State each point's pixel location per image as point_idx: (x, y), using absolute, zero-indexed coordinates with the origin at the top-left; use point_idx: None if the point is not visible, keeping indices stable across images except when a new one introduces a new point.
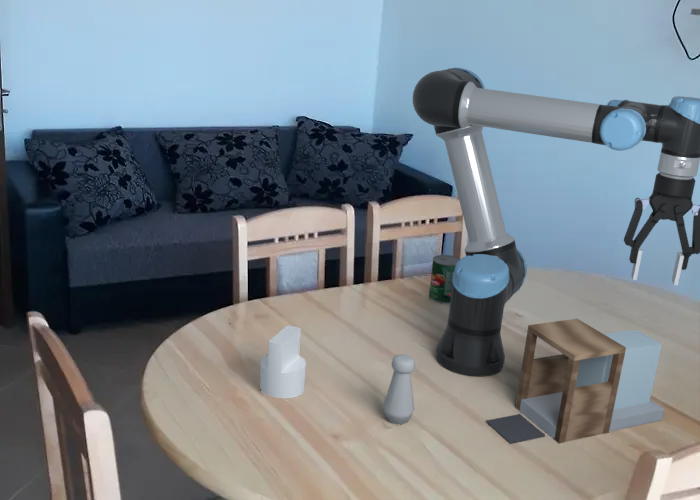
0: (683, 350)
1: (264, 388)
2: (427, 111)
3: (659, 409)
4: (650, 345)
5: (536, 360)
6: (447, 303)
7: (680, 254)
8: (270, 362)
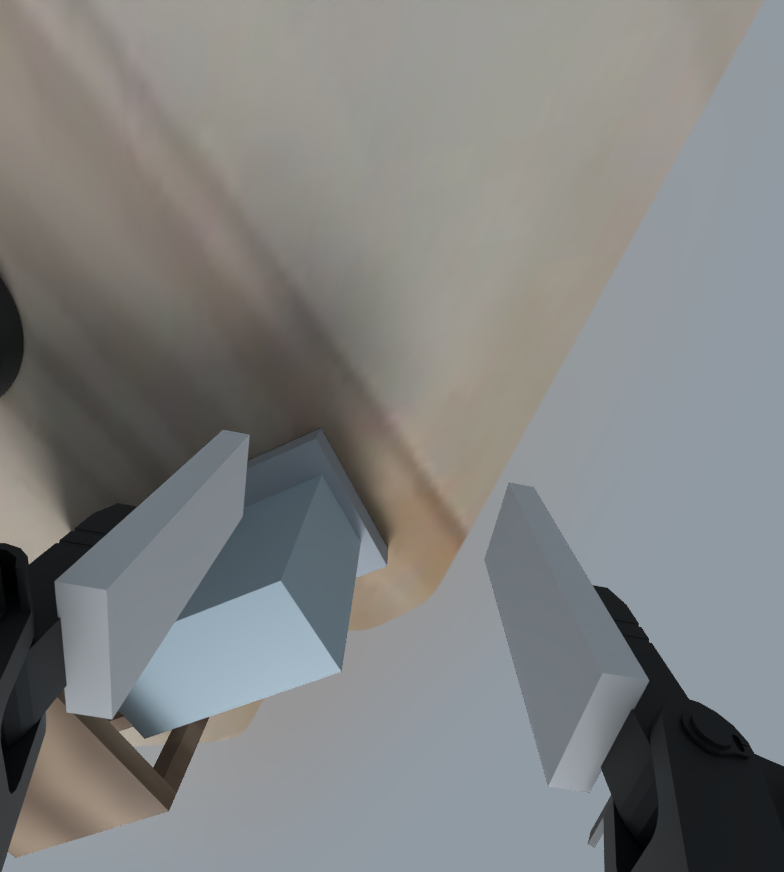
0: (669, 94)
1: None
2: None
3: (374, 568)
4: (295, 686)
5: None
6: None
7: (576, 753)
8: None
